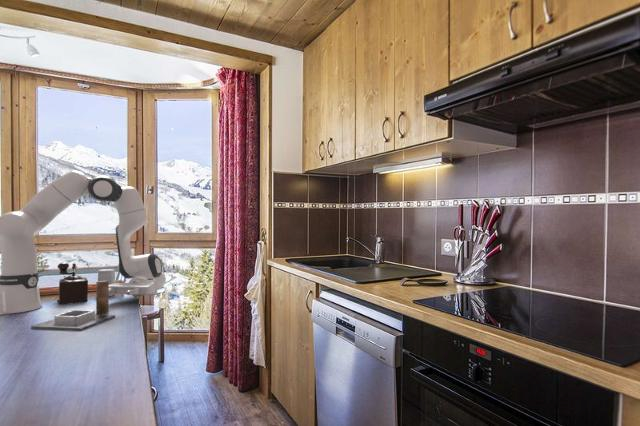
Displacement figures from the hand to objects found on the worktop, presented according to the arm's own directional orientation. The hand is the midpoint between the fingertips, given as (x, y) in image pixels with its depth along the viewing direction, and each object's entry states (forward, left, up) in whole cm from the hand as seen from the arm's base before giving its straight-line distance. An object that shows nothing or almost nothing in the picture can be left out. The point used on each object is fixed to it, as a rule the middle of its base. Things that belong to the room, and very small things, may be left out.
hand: (118, 292), depth 148 cm
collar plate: (0, -22, -6) cm, 23 cm away
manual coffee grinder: (-26, +6, -6) cm, 27 cm away
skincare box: (-21, +20, -6) cm, 30 cm away
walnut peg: (0, -9, -6) cm, 11 cm away
